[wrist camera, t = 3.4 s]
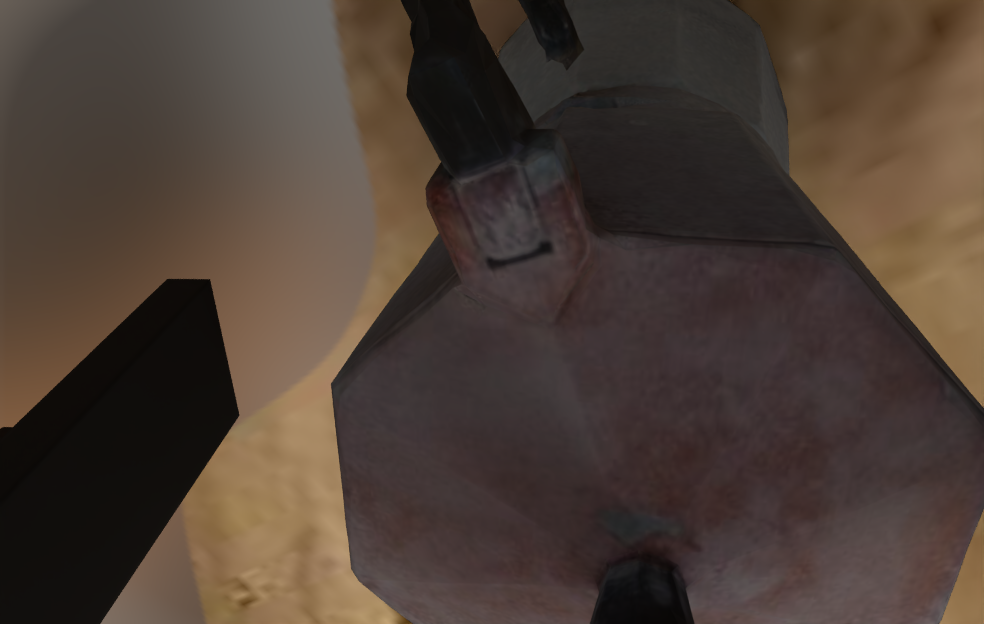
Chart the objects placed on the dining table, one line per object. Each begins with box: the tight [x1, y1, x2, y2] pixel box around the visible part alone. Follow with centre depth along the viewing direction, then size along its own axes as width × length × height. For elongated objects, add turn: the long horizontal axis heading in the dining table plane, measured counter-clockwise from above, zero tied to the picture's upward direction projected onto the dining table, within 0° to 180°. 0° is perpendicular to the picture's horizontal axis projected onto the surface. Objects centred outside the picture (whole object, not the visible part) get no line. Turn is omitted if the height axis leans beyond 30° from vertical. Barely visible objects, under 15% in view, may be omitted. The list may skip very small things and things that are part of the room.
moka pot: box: [331, 0, 984, 624], centre depth 18 cm, size 10×15×20 cm, turn 26°
